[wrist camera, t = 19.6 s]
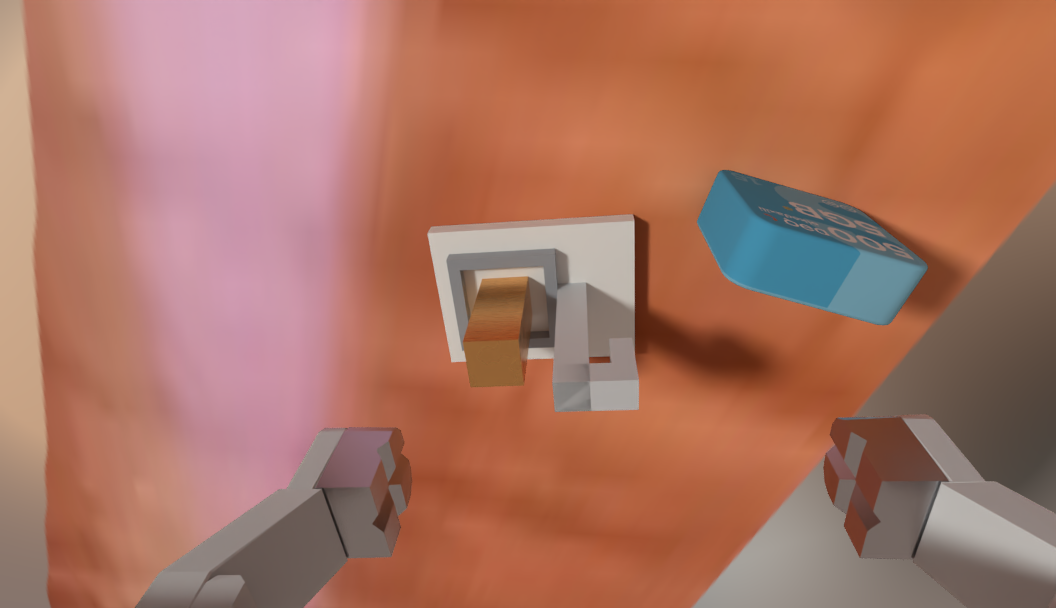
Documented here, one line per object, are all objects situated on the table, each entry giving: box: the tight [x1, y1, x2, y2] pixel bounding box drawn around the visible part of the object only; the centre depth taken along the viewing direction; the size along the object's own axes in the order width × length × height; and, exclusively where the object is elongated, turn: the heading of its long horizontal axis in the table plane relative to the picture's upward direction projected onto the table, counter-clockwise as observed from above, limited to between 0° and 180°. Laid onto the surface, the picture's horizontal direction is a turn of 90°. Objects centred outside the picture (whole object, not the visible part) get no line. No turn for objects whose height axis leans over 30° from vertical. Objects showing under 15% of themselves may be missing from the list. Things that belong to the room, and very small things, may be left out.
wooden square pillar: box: [463, 276, 533, 387], centre depth 46 cm, size 4×4×10 cm
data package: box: [697, 170, 928, 325], centre depth 41 cm, size 12×4×12 cm, turn 75°
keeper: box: [428, 214, 639, 412], centre depth 45 cm, size 17×13×16 cm
